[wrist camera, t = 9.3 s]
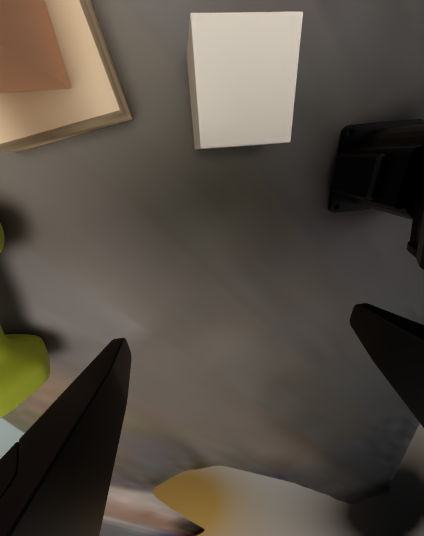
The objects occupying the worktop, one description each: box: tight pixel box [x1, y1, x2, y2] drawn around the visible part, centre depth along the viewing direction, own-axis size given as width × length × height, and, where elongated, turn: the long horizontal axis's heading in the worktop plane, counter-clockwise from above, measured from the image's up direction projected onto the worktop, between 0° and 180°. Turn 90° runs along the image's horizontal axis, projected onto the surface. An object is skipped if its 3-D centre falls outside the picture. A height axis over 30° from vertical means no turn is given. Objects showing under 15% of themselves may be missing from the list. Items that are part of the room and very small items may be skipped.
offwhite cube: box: [187, 12, 303, 149], centre depth 13 cm, size 5×5×5 cm
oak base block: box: [0, 0, 133, 152], centre depth 11 cm, size 8×8×4 cm
